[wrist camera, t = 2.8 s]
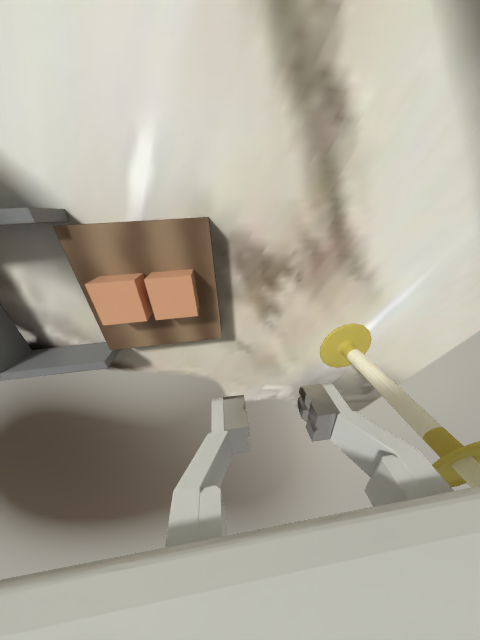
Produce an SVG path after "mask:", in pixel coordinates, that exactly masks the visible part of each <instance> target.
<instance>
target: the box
mask: <svg viewBox="0 0 480 640" xmlns="http://www.w3.org/2000/svg"><path fill="white" fill-rule="evenodd" d="M63 221H69V218H68V216H67V214H66V211H65V209H50V208H29V207H26V208H6V209H0V225H8V224H26V223H45V222H63ZM120 350H121V349H116V350H110V349H109V347H108V345H107V342H102V343H93V344H84V345H74V346H65V347H55V348H46V349H36V350H32V349H31V348H30V346H29V345H28V343H27V342H26V341H25V339H24V338H23V336H22V335H21V333H20V332H19V331H18V329H17V328H16V326H15V325H14V323H13V322H12V321H11V319H10V318H9V316H8V315H7V313H6V312H5V311H4V309H3V308H2V306H1V305H0V381H2V380H11V379H20V378H28V377H36V376H46V375H53V374H63V373H70V372H79V371H87V370H97V369H105V368H108V367H109V366H110V364H111V363H112V361H113V360H114V358H115V357H116V355H117V354H118V353H119V351H120Z"/></svg>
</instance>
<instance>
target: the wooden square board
mask: <svg viewBox="0 0 480 640" xmlns="http://www.w3.org/2000/svg"><path fill="white" fill-rule="evenodd" d="M53 228H54V230H55V232H56V234H57V236H58V239H59V241H60V243H61V245H62V247H63V249H64V252H65V254H66V256H67V258H68V260H69V262H70V265H71V267H72V269H73V271H74V273H75V275H76V278H77V280H78V282H79V284H80V286H81V288H82V290H83V293H84V295H85V297H86V299H87V301H88V303H89V306H90V308H91V310H92V312H93V314H94V316H95V319H96V321H97V323H98V325H99V327H100V329H101V332H102V334H103V336H104V338H105V340H106V342H107V345H108V347H109V349H110V350H116V349H125V348H134V347H143V346H152V345H162V344H171V343H180V342H189V341H198V340H207V339H216V338H222V333H221V322H220V313H219V305H218V296H217V287H216V278H215V269H214V260H213V251H212V242H211V234H210V225H209V217H202V218H184V219H167V220H149V221H131V222H114V223H96V224H79V225H62V226H53ZM187 269H194V276H195V282H196V288H197V294H198V300H199V313H198V316H194V317H184V318H174V319H164V320H156V319H155V316H154V312H153V313H152V314H151V316H150V317H149V319H148V321H143V322H133V323H123V324H113V325H103V324H102V322H101V320H100V318H99V315H98V313H97V311H96V309H95V306H94V304H93V302H92V300H91V298H90V295H89V293H88V291H87V289H86V286H85V284H86V283H88V282H90V281H92V280H93V279H95V278H97V277H99V276H111V275H124V274H136V273H143V275H144V278H146V277H147V276H148V275H149V274H150V273H151V272H162V271H174V270H187Z"/></svg>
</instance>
